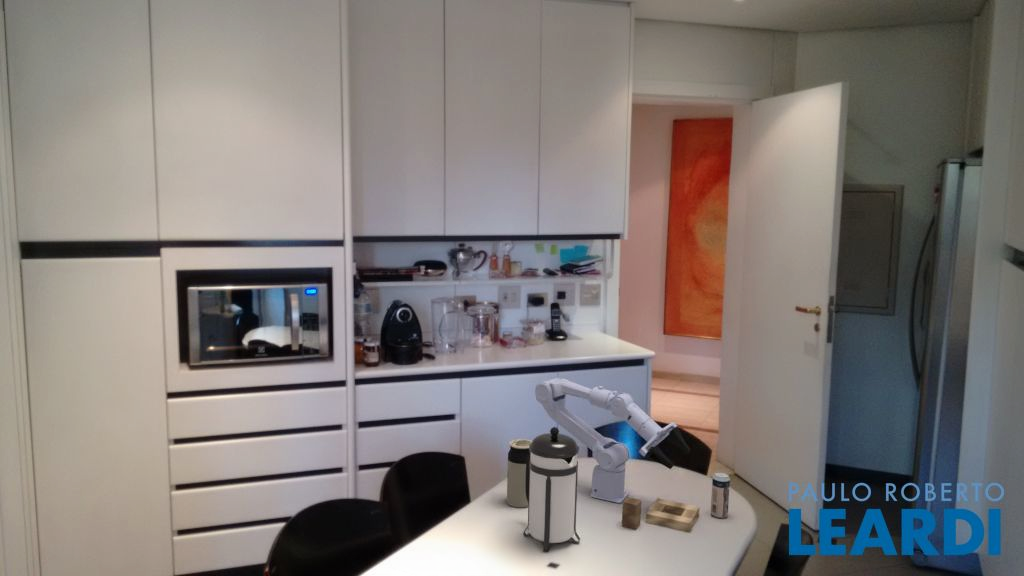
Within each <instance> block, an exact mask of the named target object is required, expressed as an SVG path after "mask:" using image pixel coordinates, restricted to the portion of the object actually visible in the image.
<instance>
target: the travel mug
mask: <svg viewBox="0 0 1024 576" xmlns="http://www.w3.org/2000/svg"><path fill="white" fill-rule="evenodd" d="M532 441H533V440H530V439H525V438H518V439H513V440H510V441H509V442H508V445H509V448H510V449H509V451H508V453H507V477H506V478H507V480H506V481H507V482H506V483H507V484H506V503H507V504H508V505H510V506H512V507H514V508H528V501H527V498H526V489H525V484H526V460H527V456H528V454H529V452H530V450H529V445H530V444H531V443H532Z"/></svg>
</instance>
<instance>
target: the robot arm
mask: <svg viewBox="0 0 1024 576" xmlns="http://www.w3.org/2000/svg"><path fill="white" fill-rule="evenodd" d="M534 390H535V391H534V392H535V399H536V401H537V402H538V403H540V404H541V406H542V407H543V409H544V410H545V412H546V414H547V416H548V417H549V418H550V419H552V420H553V421H554V422H555V423H556V424H558V425H559V426H560V427H561V428H563V429H564V430H565V431H567V432H568V433H569V434H571V436H572V437H574V438H576V439H577V440H578V441H579V442H581V444H583V445H585V447H587V448H589V449H590V451H592V458H593V459H594V460H595V461H596V462H597V463H598V464H596V465H594V467H593V470H592V474H591V475H592V476H591V494H590V498H595V499H599V500H604V501H608V502H614V503H618V504H621V503H623V501H624V500H625V499H626V498H627V497H628V496H629V492H628V491H625V481H626V477H625V476H626V463H627V462H628V461H629V459H630V449H629V447H628V446H627V445H626V444H625V443H623V442H619V441H616V440H615V439H613V438H611V437H606V436H603V435H602V434H601V433H599V432H598V431H596V429H594V428H593V427H592V426H590V425H589V424H588V423H587V422H585V421H583V420H582V419H581V418H580V417H578V416H577V415H576V414H574V413H573V412H572V411H571V410H569V409H568V408H567V407H566V399H567V395H569V396H572V397H576V398H581V399H583V400H584V399H585V400H588V402H589V403H590V405H591V406H593V407H597V408H601V409H604V410H607V411H609V412H610V411H611V415H613V416H615V417H618V418H621V419H622V420H624V421H625V423H627V424H628V425H629V426H630V427H631V428H632V429H633V430H634V431H635V432H636V433H637V434H638V435H639V436H640V437H641V438H643V439H644V441H646V443H645V444H644V445H643V446H642V447H641V448H640V449H639V450H638V452H639V454H640V455H641V456H643V457H645V458H646V459H647V460H650V461H653V462H655V463H658V464H660V465H662V466H664V467H666V468H667V469H669V470H671V469H672V468H673V467H674V465H675V464H674V463H673V462H672V461H671V460H670V458H668V457H667V455H665V453H664V452H663V451H662V449H661V448H660V447H659V444H660V443H661V442H662V441H663V440H665V439H666V438H667V437H668V439H667V441H668V442H669V443H671V444H673V445H674V446H676V447H677V448H678V449H679V450H681V451H682V452H683V453H684V454H686V455H689V453H690V451H691V448H690V447H689V446H688V444H687V443H686V441H685V439H684V437H683V436H682V433H681V429H680V428H679V426H678V425H676V423H675V422H673V421H672V422H670V423H669V424H668V425H666V426H664V427H661V425H659V424H658V423H657V422H656V421H654V420H653V419H652V417H650V416H649V414H647V413H646V412H645V411H644V410H643V409H641V408H640V407H639V405H637V404H636V403H635V399H634V397H633V396H632V394H630V393H628V392H626V391H624V392H621V393H618V391H617V390H613V391H612V390H608V389H606V388H605V387H604V386H602V385H600V386H595V387H593V388H590V387H586V386H583V385H582V384H578V383H576V382H573V381H571V380H568V379H567V378H563V377H562V378H561V377H559V376H556V377H553V378H551V379H548V380H545V381H540V382H538V383H537V384H536V385H535V388H534Z"/></svg>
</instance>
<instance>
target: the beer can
mask: <svg viewBox="0 0 1024 576" xmlns="http://www.w3.org/2000/svg"><path fill="white" fill-rule="evenodd" d="M730 483H731V478H730V476H729V474H727V473H725V472H722V471H721V472H720V471H719V472H717V471H716V472H714V473H713V475H712V479H711V500H710V501H711V502H710V515H712V516H713V517H715V518H717V519H724V518H726V517H728V516H729V504H730V503H729V501H730V500H729V499H730V487H731V486H730Z"/></svg>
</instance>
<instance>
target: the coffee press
mask: <svg viewBox="0 0 1024 576" xmlns="http://www.w3.org/2000/svg"><path fill="white" fill-rule="evenodd" d="M549 432H550V433H542V434H540V435H537V436H535V437H534V438H533V439H532V440H531V441H532V443H531V444H530V445H529V450H530V452H529V454H528V456H527V460H526V484H525V489H526V498H527V501H528V507H527V512H528V513H527V526H526V528H525V529H524V530H523V533H522V534H523V537H526V538H527V537H530V535H531V537H533V538H534V539H536V540H537V541H540V542H543V546H542V550H543V551H542V552H547V553H549V551H550V547H551V544H559V543H564V542H566V541H568V540H571V541H572V543H573V544H575V545H577V544H579V543H580V541H581V538H580V536H579V535H578V532H577V501H578V476H579V475H578V473H579V472H578V471H579V462H578V454H579V452H580V446H579V445H578V443H577V441H575V439H574V438H572V437H571V436H569V435H567V434H563V433H560V430H559V428H558V427H555V426H553V427H551V428H550V430H549ZM527 529H528V533H526V531H527ZM573 536H575V537H576V539H577V540H575V538H574V537H573Z"/></svg>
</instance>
